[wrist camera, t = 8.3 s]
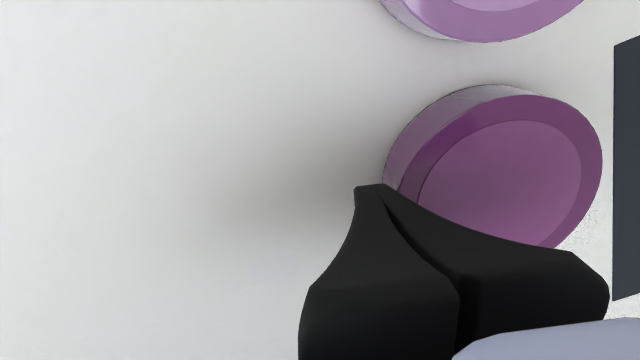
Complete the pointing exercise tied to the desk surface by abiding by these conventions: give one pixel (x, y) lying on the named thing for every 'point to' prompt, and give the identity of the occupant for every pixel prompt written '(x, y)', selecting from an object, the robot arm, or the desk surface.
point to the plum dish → (500, 163)
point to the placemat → (626, 170)
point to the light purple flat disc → (478, 17)
